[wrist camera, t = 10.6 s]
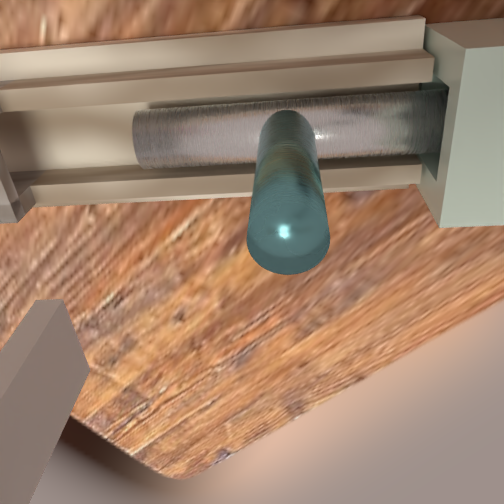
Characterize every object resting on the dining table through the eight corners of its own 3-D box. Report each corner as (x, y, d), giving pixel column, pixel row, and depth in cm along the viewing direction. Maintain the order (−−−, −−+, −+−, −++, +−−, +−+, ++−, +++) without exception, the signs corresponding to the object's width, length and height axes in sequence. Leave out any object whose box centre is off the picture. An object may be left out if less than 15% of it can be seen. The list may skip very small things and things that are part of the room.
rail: (-43, 53, 29) (-117, 78, 24) (419, 14, 27) (453, 33, 21) (14, 199, 35) (-36, 246, 29) (403, 178, 32) (427, 226, 27)
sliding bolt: (143, 102, 28) (48, 210, 17) (490, 78, 27) (646, 180, 15) (154, 156, 30) (75, 286, 19) (479, 137, 28) (611, 267, 17)
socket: (423, 24, 27) (466, 48, 21) (525, 16, 26) (600, 38, 20) (408, 171, 32) (439, 227, 26) (494, 167, 31) (546, 223, 25)
